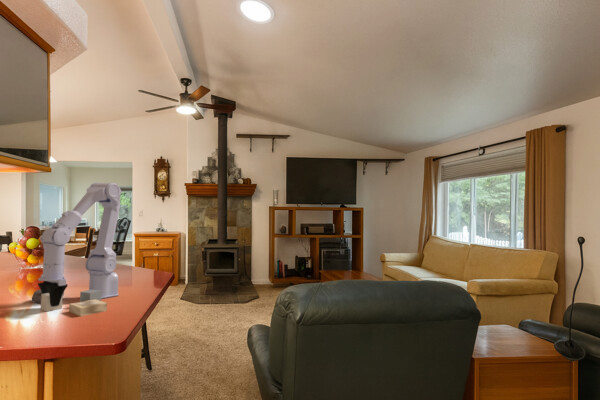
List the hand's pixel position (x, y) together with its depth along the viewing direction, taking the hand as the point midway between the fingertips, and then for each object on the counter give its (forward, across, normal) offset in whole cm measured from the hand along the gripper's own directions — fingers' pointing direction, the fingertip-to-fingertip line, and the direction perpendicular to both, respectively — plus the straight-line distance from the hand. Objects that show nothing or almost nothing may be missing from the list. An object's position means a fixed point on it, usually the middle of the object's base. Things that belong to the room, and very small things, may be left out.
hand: (51, 304), depth 116 cm
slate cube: (+2, +5, +10) cm, 11 cm away
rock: (+2, -14, +4) cm, 15 cm away
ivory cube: (+1, 0, 0) cm, 1 cm away
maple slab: (+2, +12, +6) cm, 14 cm away
